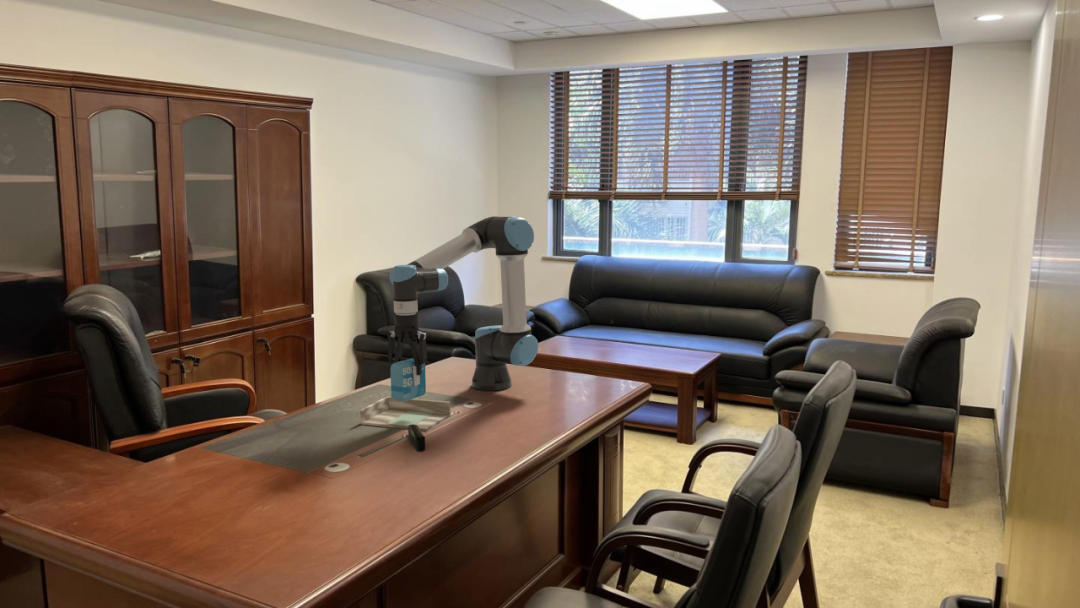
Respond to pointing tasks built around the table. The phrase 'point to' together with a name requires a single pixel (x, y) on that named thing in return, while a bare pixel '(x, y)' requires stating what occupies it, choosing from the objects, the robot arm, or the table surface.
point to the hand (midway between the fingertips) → (408, 383)
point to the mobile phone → (416, 437)
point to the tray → (405, 413)
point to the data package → (406, 381)
